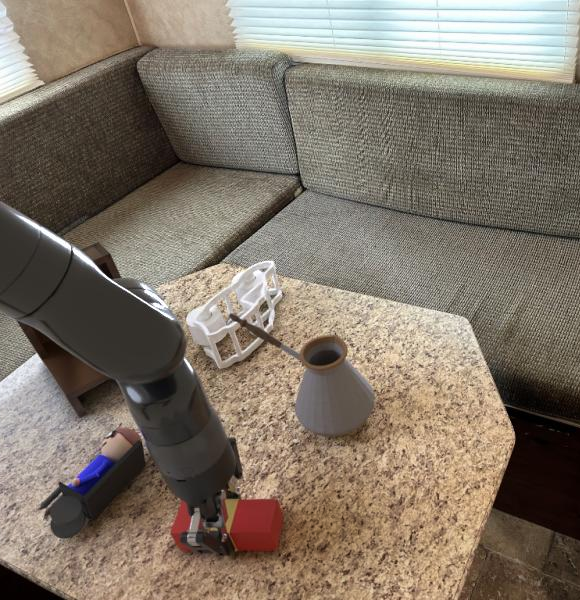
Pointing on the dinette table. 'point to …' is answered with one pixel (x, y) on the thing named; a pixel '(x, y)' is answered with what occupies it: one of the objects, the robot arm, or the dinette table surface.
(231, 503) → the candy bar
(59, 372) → the shelf rack
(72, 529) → the character figurine
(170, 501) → the dinette table surface
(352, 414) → the coffee pot
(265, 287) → the car outline toy
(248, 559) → the dinette table surface
